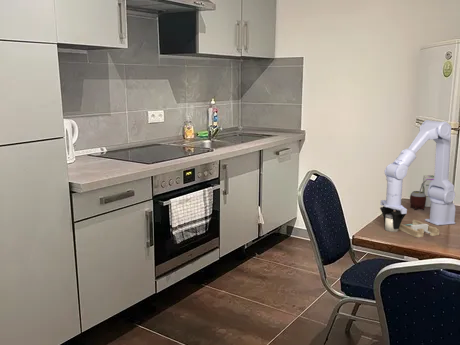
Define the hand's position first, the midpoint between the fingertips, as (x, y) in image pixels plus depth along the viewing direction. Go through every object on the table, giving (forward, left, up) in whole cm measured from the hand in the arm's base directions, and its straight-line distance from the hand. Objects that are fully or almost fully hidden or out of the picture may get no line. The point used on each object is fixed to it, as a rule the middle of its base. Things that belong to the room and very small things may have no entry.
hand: (391, 226), depth 185 cm
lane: (-9, +3, -1) cm, 9 cm away
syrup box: (-41, -29, -2) cm, 50 cm away
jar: (0, 0, -1) cm, 1 cm away
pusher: (-8, +8, -1) cm, 12 cm away
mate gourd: (-32, -25, -2) cm, 40 cm away
